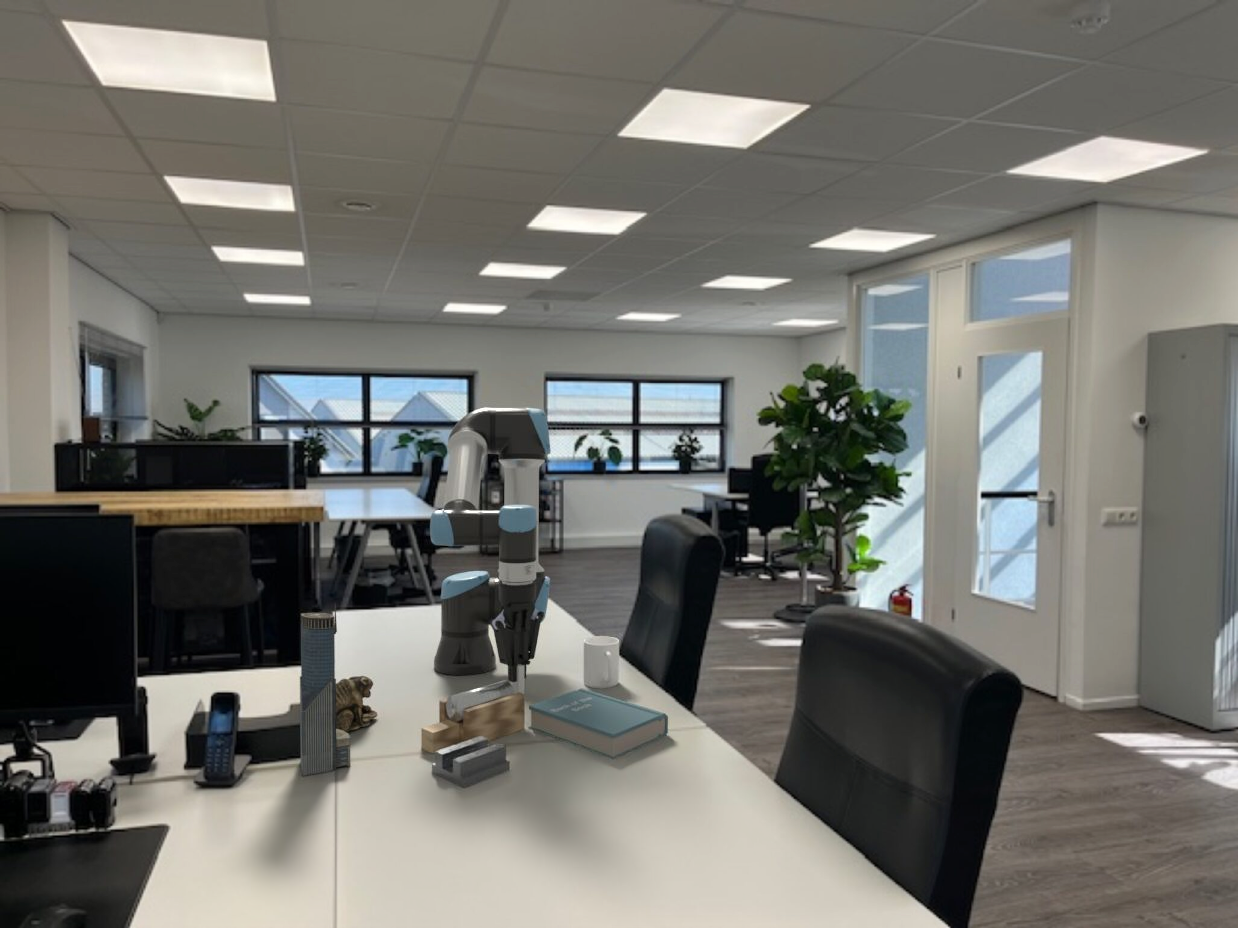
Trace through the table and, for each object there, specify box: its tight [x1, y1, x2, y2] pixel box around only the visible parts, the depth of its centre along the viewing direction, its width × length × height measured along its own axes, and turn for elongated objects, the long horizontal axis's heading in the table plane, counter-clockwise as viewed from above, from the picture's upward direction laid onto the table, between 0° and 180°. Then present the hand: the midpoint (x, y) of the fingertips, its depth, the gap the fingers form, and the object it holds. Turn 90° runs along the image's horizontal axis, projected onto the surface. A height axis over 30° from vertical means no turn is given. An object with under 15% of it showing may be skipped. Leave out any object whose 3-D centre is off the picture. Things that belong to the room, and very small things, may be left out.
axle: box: [446, 680, 514, 722], centre depth 165 cm, size 13×5×5 cm, turn 138°
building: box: [299, 604, 351, 777], centre depth 148 cm, size 10×9×30 cm
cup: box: [582, 635, 620, 689], centre depth 196 cm, size 8×12×10 cm
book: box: [528, 687, 669, 760], centre depth 167 cm, size 23×16×5 cm
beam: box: [420, 693, 526, 755], centre depth 164 cm, size 20×9×7 cm, turn 138°
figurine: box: [336, 675, 379, 732], centre depth 167 cm, size 6×14×10 cm, turn 137°
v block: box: [431, 736, 511, 788], centre depth 147 cm, size 10×9×4 cm
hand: (517, 695), depth 172 cm, fingers closed
